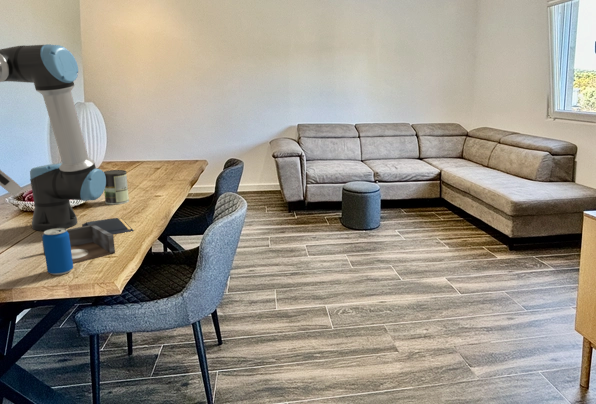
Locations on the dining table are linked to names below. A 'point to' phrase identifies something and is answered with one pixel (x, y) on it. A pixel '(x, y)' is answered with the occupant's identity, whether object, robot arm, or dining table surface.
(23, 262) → the dining table surface
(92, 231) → the corner tray
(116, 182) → the coffee can
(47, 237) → the beverage can
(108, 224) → the dark grey flat rectangle
